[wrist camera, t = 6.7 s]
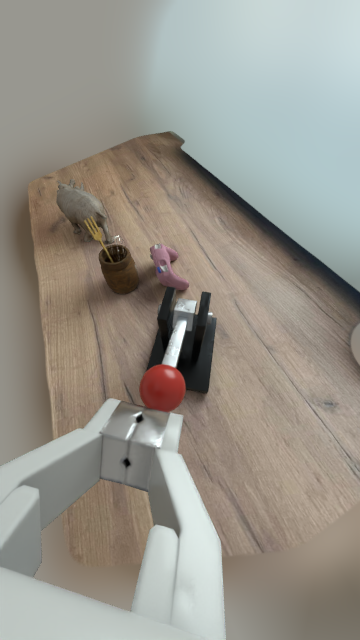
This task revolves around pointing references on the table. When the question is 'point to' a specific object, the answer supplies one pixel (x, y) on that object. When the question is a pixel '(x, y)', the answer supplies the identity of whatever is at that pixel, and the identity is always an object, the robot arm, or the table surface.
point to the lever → (169, 364)
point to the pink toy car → (166, 267)
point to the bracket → (187, 342)
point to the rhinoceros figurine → (81, 209)
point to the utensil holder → (116, 263)
